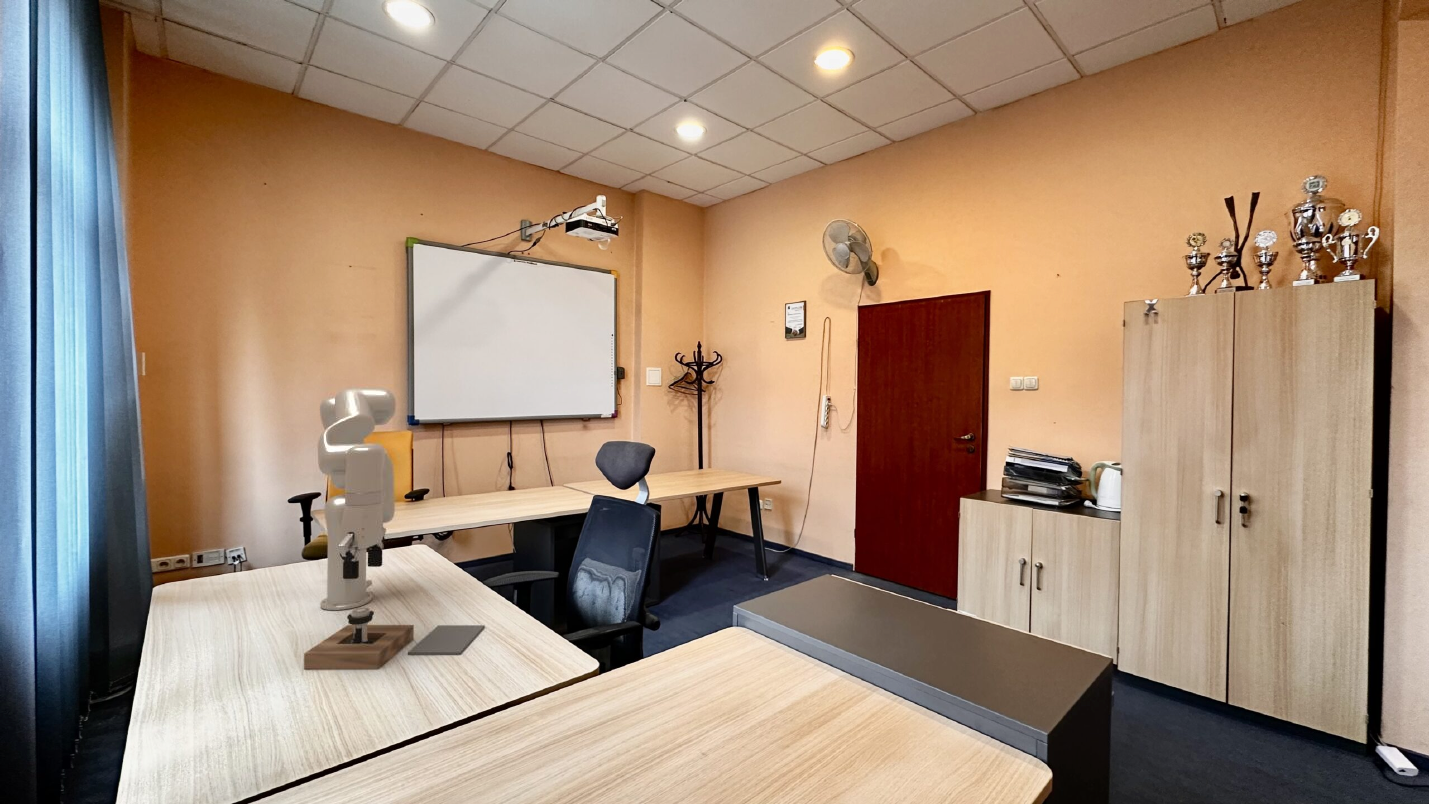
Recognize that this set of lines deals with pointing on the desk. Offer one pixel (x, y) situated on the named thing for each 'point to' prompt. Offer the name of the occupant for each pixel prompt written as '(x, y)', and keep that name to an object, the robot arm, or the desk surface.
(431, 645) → the pad
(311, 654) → the holder
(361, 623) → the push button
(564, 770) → the desk surface
